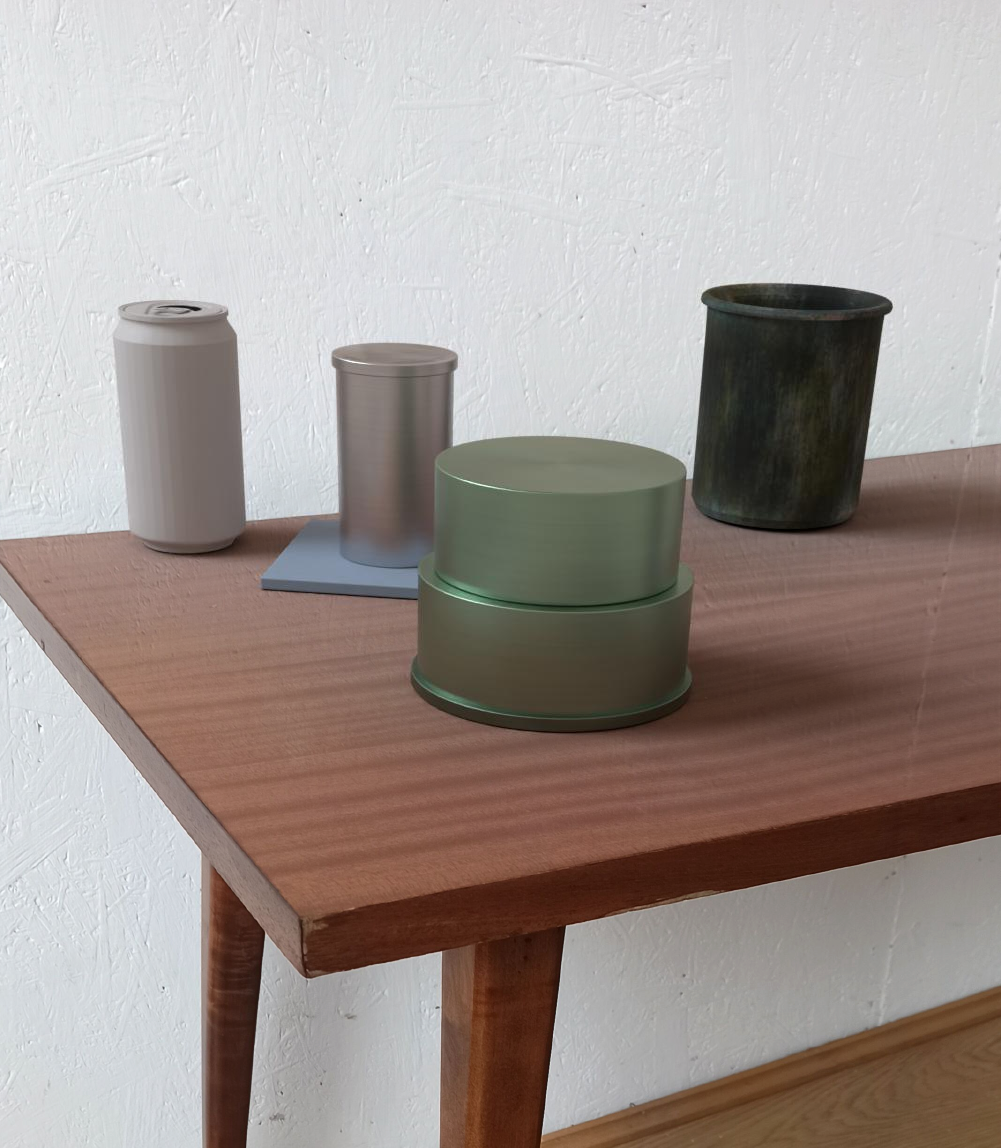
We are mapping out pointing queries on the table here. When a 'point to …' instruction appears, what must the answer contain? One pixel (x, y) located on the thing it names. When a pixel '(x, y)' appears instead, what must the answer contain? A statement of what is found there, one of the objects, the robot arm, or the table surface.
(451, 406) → the silver lidded canister
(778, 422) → the dark green bucket
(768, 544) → the table surface
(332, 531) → the mat
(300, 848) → the table surface
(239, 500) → the beverage can
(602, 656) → the green tiered metal tin
